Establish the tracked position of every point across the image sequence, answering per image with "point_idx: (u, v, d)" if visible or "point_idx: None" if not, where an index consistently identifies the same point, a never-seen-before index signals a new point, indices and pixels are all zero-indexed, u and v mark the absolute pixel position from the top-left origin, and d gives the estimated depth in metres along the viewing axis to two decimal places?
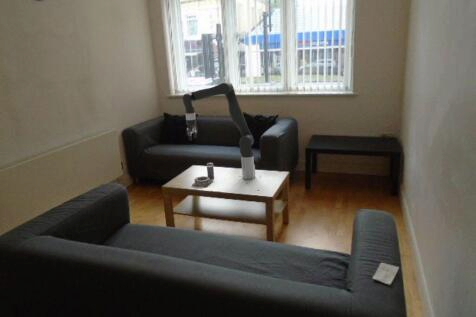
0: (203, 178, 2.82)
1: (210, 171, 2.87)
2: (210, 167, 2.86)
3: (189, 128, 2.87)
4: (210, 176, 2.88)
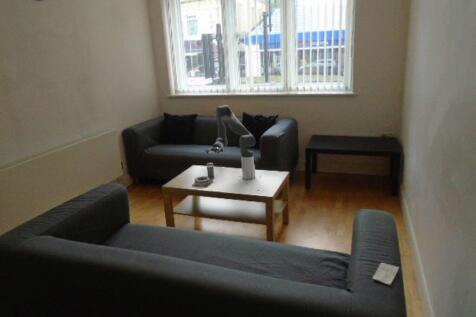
0: (203, 178, 2.82)
1: (210, 171, 2.87)
2: (210, 167, 2.86)
3: None
4: (210, 176, 2.88)
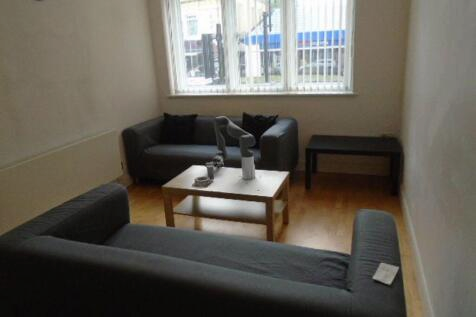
0: (203, 178, 2.82)
1: (210, 171, 2.87)
2: (210, 167, 2.86)
3: (207, 162, 3.05)
4: (210, 176, 2.88)
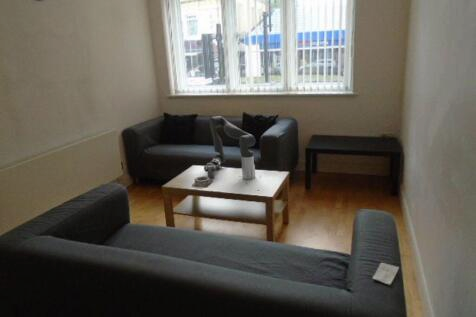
0: (203, 178, 2.82)
1: (210, 171, 2.87)
2: (210, 167, 2.86)
3: (204, 165, 2.96)
4: (210, 176, 2.88)
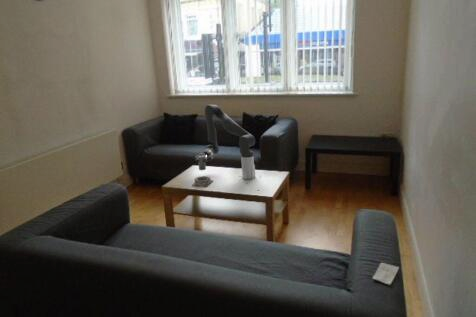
0: (203, 178, 2.82)
1: (201, 161, 2.74)
2: (201, 157, 2.73)
3: None
4: (201, 167, 2.76)
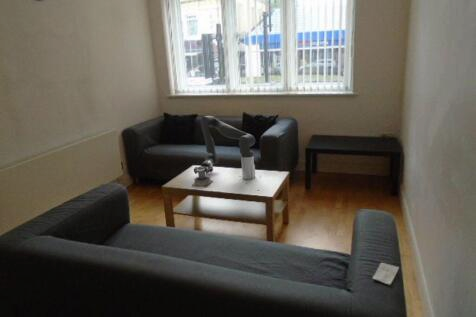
0: None
1: (201, 175, 2.75)
2: (201, 170, 2.74)
3: None
4: None
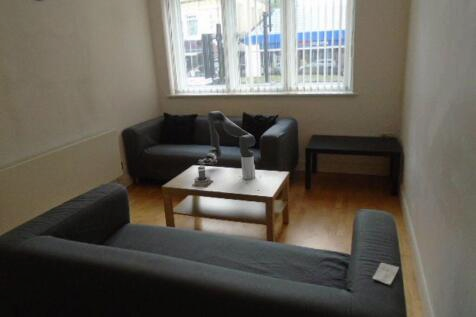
0: None
1: (201, 175, 2.75)
2: (201, 170, 2.74)
3: (200, 159, 2.97)
4: None
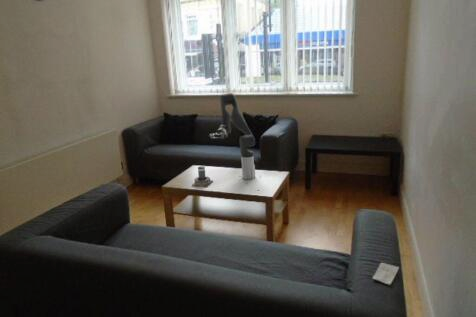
0: None
1: (201, 175, 2.75)
2: (201, 170, 2.74)
3: (211, 133, 3.01)
4: None
